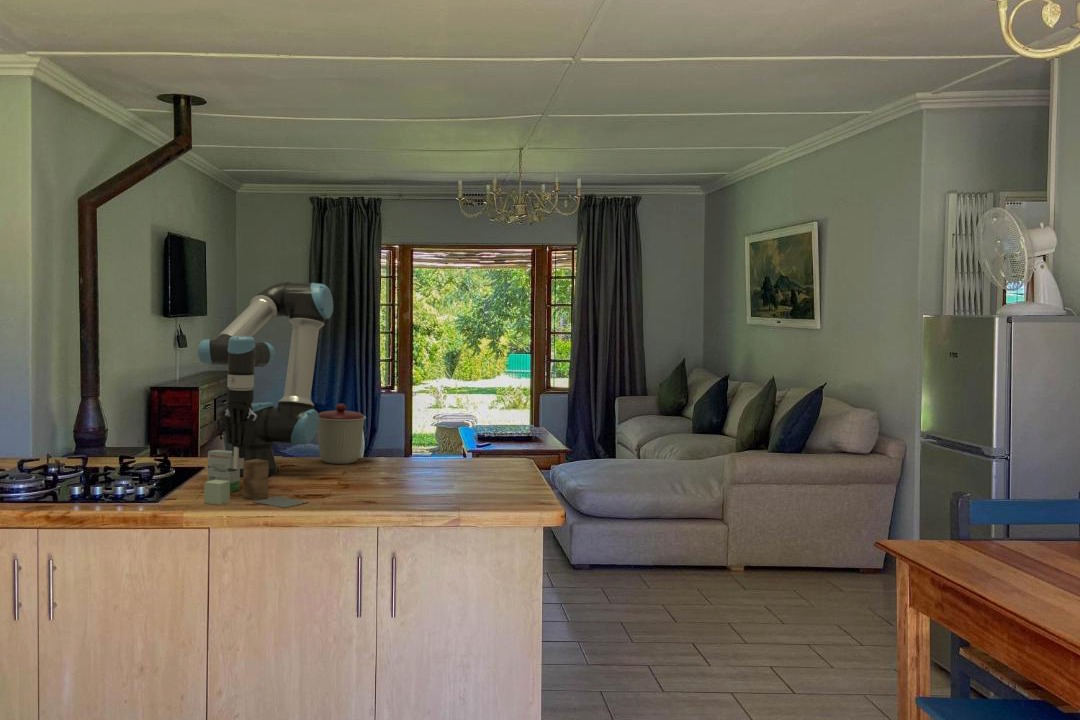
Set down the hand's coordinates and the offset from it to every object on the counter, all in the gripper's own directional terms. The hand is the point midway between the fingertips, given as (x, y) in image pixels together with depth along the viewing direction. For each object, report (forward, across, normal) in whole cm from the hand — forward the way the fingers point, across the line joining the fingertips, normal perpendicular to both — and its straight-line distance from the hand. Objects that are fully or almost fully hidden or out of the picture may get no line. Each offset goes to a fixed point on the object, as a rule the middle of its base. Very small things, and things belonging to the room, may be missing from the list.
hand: (238, 468), depth 303 cm
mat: (+8, +17, 0) cm, 19 cm away
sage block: (+8, +3, -11) cm, 14 cm away
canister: (+8, -16, +65) cm, 68 cm away
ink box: (+8, -9, +3) cm, 13 cm away
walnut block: (+8, +7, 0) cm, 11 cm away
